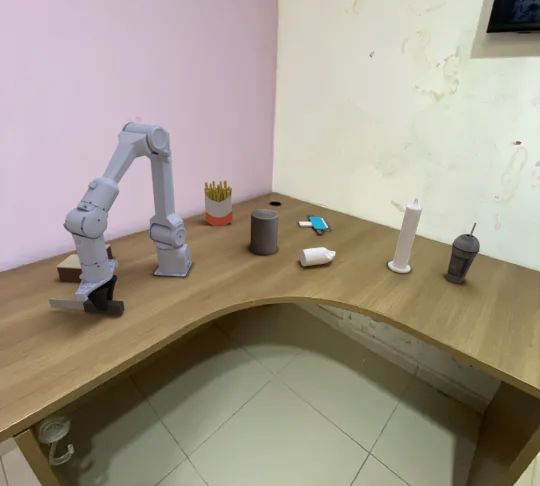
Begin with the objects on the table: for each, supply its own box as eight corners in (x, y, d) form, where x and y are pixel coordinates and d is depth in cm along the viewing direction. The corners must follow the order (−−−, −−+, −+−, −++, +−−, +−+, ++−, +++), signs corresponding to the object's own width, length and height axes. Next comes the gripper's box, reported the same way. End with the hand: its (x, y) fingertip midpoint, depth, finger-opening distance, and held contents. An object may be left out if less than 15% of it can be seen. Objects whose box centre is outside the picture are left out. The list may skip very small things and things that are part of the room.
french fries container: (232, 225, 129) (232, 183, 122) (206, 226, 127) (204, 184, 120) (231, 221, 133) (231, 180, 126) (206, 221, 131) (204, 180, 124)
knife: (124, 309, 78) (123, 300, 77) (121, 315, 76) (119, 306, 75) (54, 304, 78) (51, 295, 77) (48, 309, 76) (45, 300, 75)
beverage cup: (464, 275, 101) (485, 219, 92) (469, 287, 95) (492, 228, 86) (440, 270, 103) (458, 215, 94) (443, 282, 97) (463, 224, 88)
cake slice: (112, 258, 102) (110, 244, 100) (108, 262, 99) (105, 248, 97) (88, 256, 102) (85, 243, 100) (83, 261, 99) (80, 247, 97)
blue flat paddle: (296, 216, 142) (296, 212, 141) (321, 216, 143) (321, 212, 142) (303, 235, 124) (304, 231, 123) (332, 235, 125) (333, 231, 124)
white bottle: (338, 265, 103) (340, 251, 101) (304, 269, 100) (306, 254, 98) (330, 257, 108) (332, 242, 106) (298, 260, 105) (299, 245, 103)
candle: (410, 265, 105) (429, 195, 95) (409, 275, 99) (429, 202, 89) (388, 260, 108) (405, 191, 97) (386, 270, 102) (403, 198, 91)
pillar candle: (245, 251, 109) (245, 212, 103) (256, 240, 118) (257, 203, 111) (271, 257, 106) (273, 217, 100) (280, 245, 114) (283, 207, 108)
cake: (101, 269, 95) (97, 255, 93) (88, 282, 89) (84, 268, 87) (75, 268, 95) (71, 254, 93) (60, 281, 89) (56, 266, 87)
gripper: (94, 243, 77) (104, 288, 83) (55, 275, 64) (70, 326, 70) (122, 245, 77) (130, 289, 83) (89, 277, 64) (101, 328, 70)
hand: (105, 306), depth 76 cm, fingers closed on knife, 2 cm apart
